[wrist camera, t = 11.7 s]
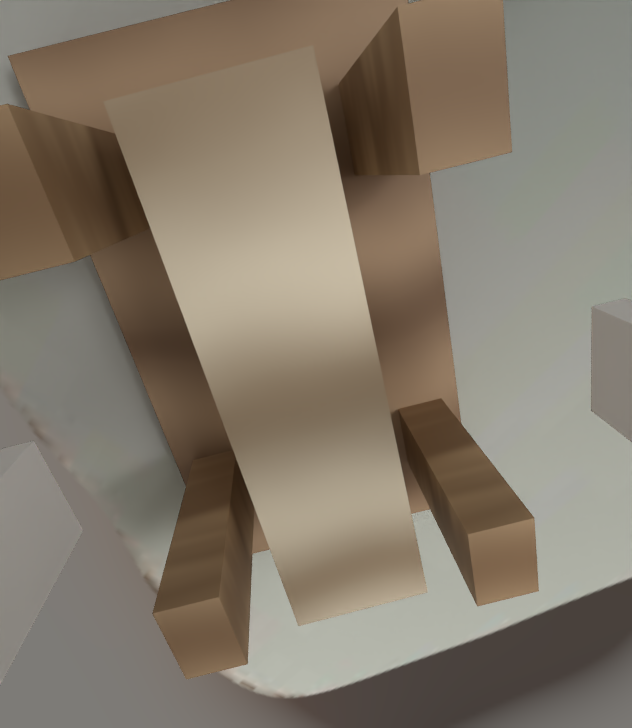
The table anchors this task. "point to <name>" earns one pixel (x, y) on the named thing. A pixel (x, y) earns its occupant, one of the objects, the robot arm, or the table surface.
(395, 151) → the wooden block assembly
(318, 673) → the table surface
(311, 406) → the cream wooden block
